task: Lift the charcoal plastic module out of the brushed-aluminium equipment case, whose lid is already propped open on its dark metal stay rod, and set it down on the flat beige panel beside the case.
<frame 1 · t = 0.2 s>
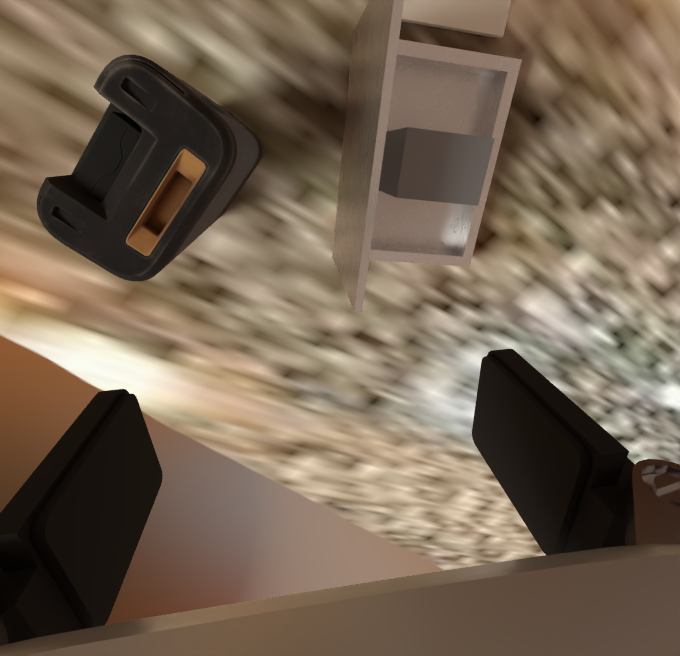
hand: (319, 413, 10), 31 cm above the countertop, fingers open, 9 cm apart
electronic device: (214, 166, 35), on the countertop
equipment case: (412, 165, 37), on the countertop
module: (414, 165, 36), resting on equipment case
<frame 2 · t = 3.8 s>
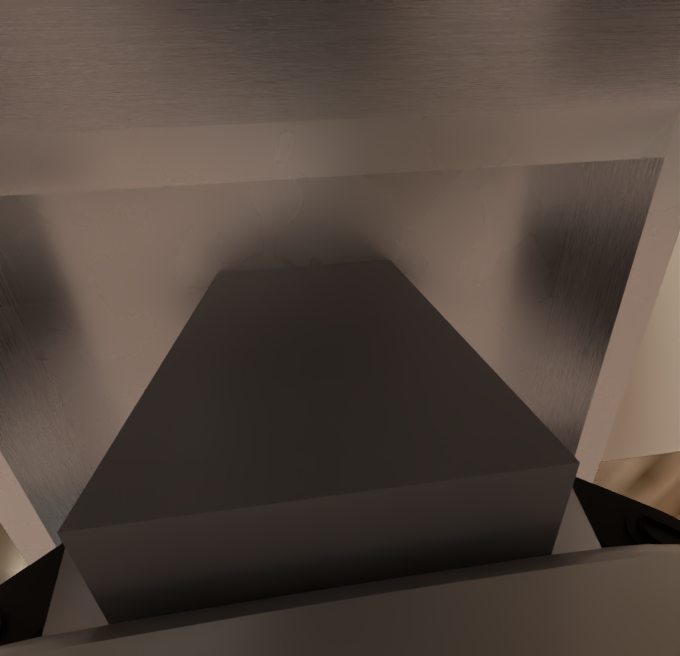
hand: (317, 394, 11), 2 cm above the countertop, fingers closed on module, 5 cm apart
equipment case: (313, 361, 13), on the countertop
module: (314, 369, 12), point 1 cm above the countertop, touching equipment case, gripper
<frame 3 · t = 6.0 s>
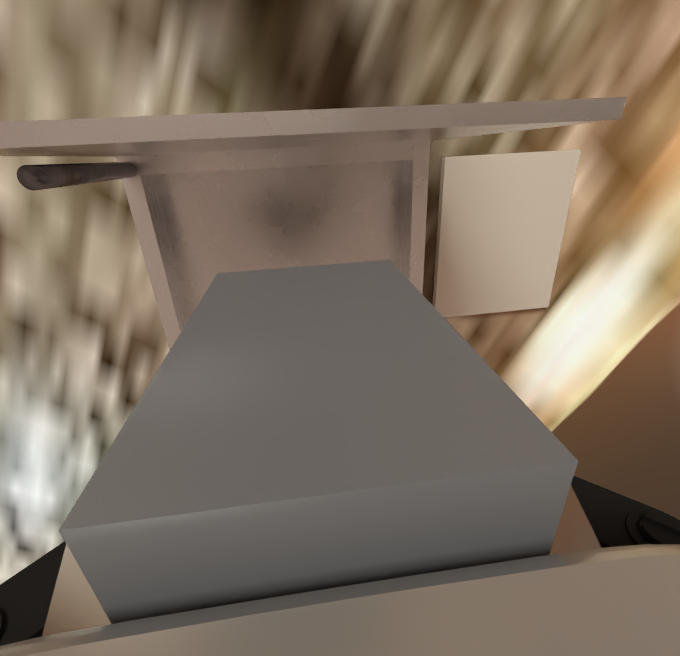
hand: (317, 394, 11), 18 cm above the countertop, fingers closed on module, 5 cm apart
equipment case: (291, 255, 27), on the countertop
flat beige panel: (498, 238, 29), on the countertop
module: (314, 369, 12), point 16 cm above the countertop, touching gripper
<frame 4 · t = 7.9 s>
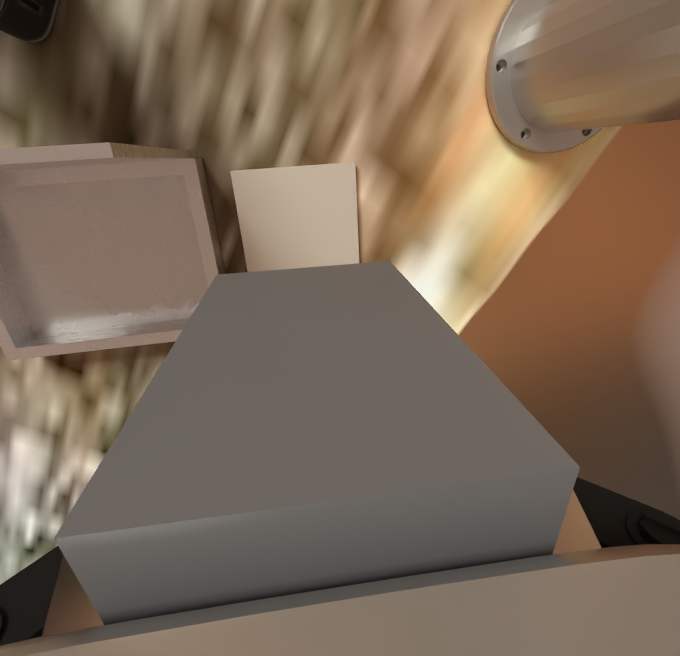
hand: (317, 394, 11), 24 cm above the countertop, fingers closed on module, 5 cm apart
equipment case: (110, 257, 31), on the countertop
flat beige panel: (301, 240, 33), on the countertop
module: (314, 370, 12), point 23 cm above the countertop, touching gripper
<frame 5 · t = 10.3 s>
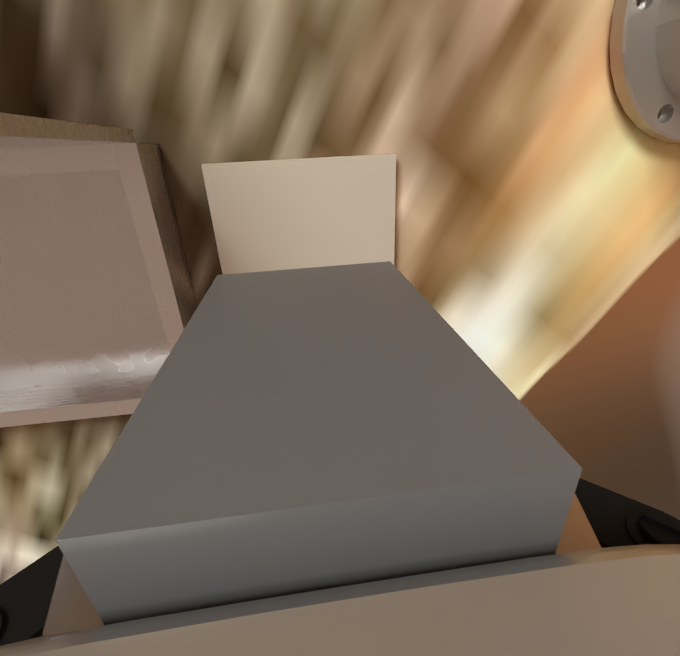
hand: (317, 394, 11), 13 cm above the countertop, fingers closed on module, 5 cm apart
equipment case: (26, 290, 21), on the countertop
flat beige panel: (309, 268, 22), on the countertop
module: (314, 371, 12), point 11 cm above the countertop, touching gripper
when the fingers open (4 cm above the countertop, at t = 12.3 s): module drops 2 cm, resting on flat beige panel.
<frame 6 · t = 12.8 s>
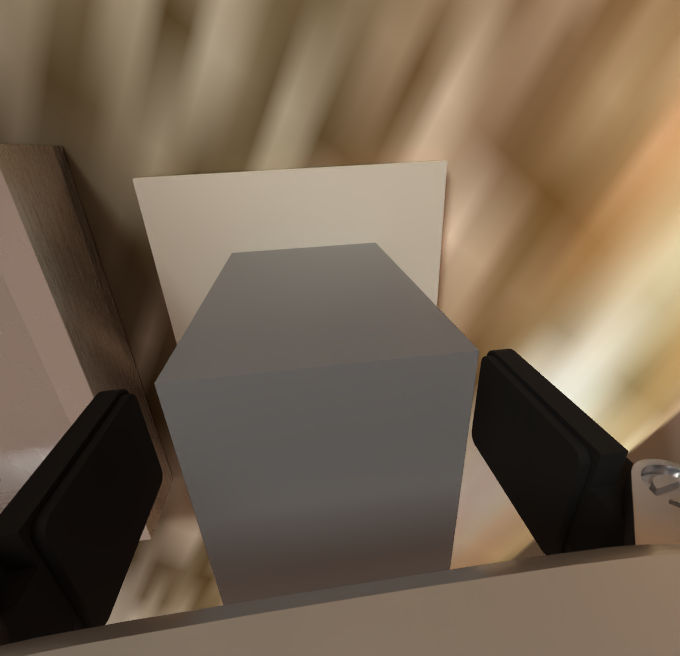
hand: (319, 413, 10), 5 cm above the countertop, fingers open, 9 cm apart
flat beige panel: (310, 330, 15), on the countertop
module: (312, 337, 14), point 1 cm above the countertop, touching flat beige panel
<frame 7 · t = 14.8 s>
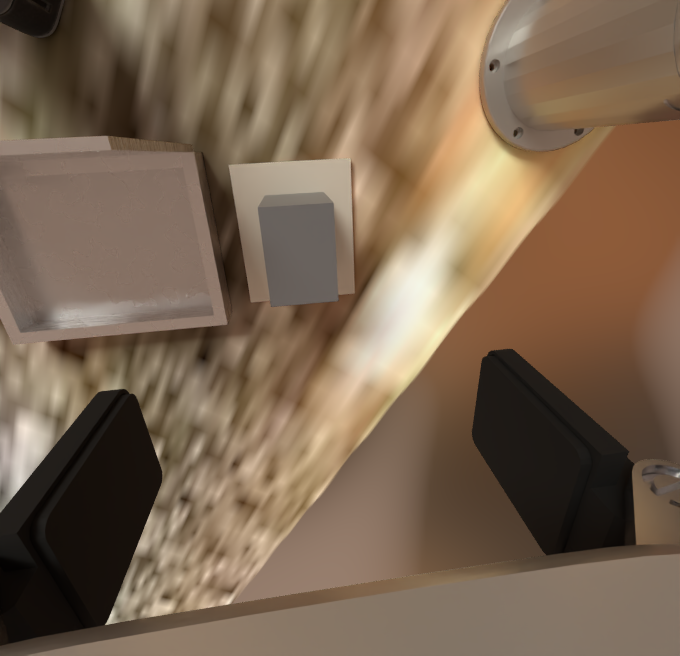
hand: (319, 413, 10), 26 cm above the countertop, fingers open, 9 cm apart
equipment case: (112, 247, 32), on the countertop
flat beige panel: (297, 233, 34), on the countertop
module: (298, 235, 33), point 1 cm above the countertop, touching flat beige panel
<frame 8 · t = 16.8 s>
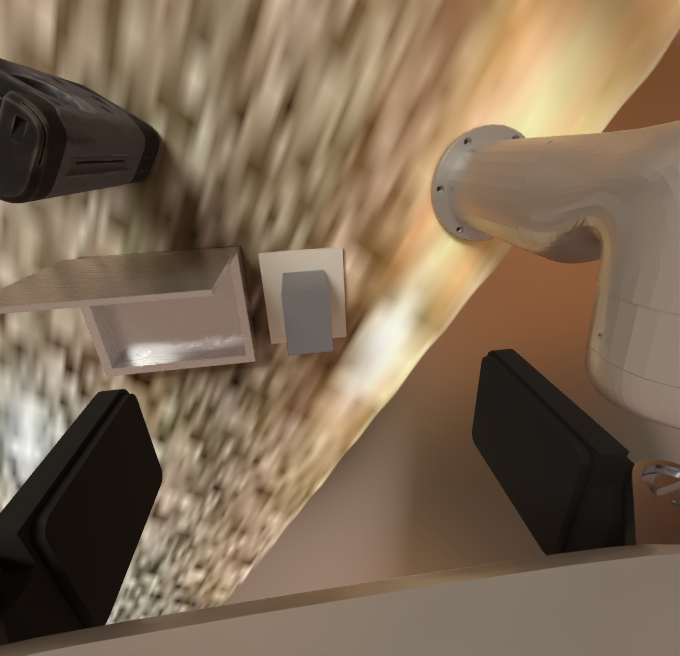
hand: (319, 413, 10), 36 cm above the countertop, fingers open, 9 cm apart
electronic device: (111, 135, 37), on the countertop
equipment case: (175, 307, 46), on the countertop
flat beige panel: (305, 296, 47), on the countertop
module: (305, 298, 47), point 1 cm above the countertop, touching flat beige panel
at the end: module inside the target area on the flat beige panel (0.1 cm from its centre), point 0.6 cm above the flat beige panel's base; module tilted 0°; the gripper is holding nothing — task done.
